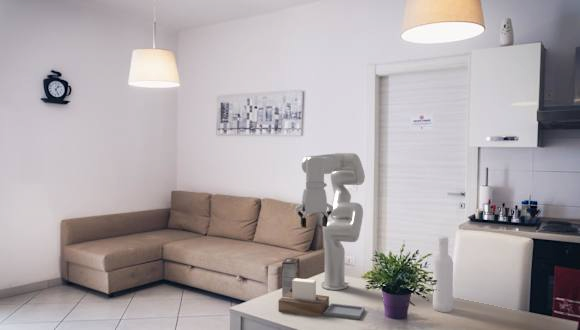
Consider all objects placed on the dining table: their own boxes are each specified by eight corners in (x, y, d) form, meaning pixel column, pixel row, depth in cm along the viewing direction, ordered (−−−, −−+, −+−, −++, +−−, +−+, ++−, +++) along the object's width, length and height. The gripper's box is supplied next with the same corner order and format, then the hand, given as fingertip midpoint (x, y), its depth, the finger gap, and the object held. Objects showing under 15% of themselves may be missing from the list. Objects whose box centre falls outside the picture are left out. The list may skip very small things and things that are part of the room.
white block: (295, 306, 201) (295, 278, 201) (315, 308, 198) (315, 280, 198) (292, 309, 197) (292, 280, 197) (313, 311, 194) (313, 282, 194)
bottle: (455, 312, 194) (456, 239, 192) (436, 312, 194) (437, 239, 192) (448, 305, 202) (449, 235, 200) (430, 306, 202) (430, 235, 200)
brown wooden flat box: (288, 302, 207) (288, 290, 206) (328, 306, 200) (328, 295, 200) (278, 311, 195) (278, 299, 195) (321, 316, 189) (321, 303, 189)
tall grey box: (286, 292, 221) (286, 257, 220) (299, 292, 220) (299, 258, 219) (281, 298, 212) (281, 262, 211) (296, 299, 211) (296, 263, 210)
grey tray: (331, 306, 201) (331, 303, 201) (364, 310, 196) (364, 307, 196) (324, 315, 190) (324, 311, 190) (359, 319, 186) (359, 315, 186)
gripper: (329, 185, 208) (328, 225, 208) (292, 185, 202) (291, 226, 202) (337, 186, 201) (336, 227, 201) (299, 186, 195) (298, 228, 195)
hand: (314, 226), depth 201 cm, fingers open, 9 cm apart
